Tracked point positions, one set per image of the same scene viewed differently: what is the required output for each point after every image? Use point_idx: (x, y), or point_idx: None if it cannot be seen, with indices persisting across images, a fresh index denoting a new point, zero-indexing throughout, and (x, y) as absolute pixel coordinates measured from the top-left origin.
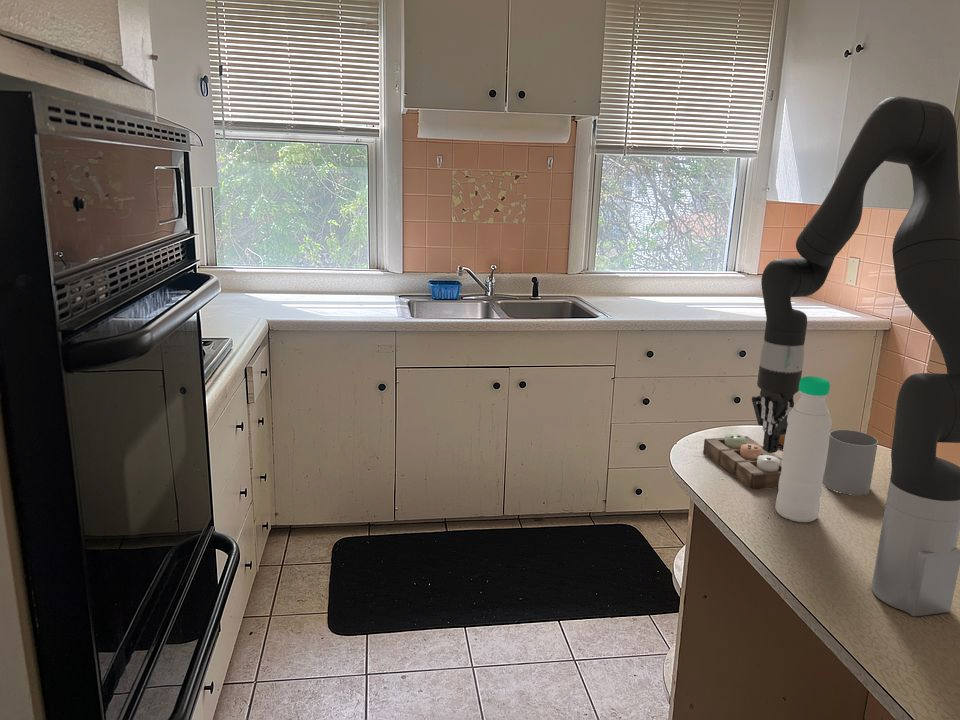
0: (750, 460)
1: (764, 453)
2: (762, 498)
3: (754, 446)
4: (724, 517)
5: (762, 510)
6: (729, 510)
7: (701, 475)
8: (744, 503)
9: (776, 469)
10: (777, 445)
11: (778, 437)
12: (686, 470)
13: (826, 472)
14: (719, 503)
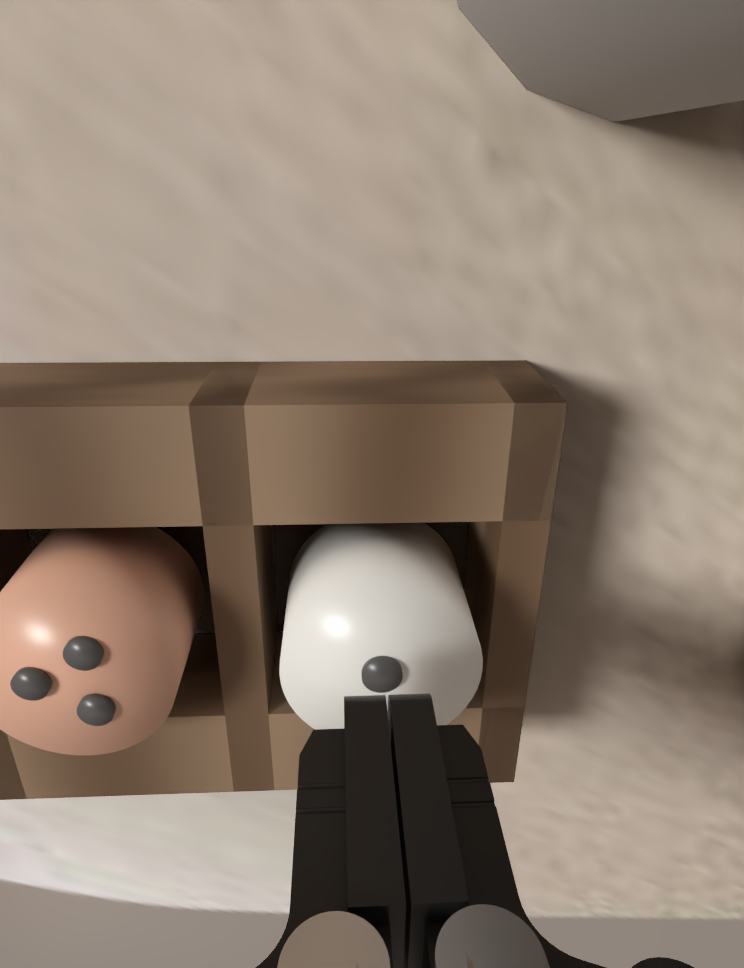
0: (235, 689)
1: (70, 501)
2: (606, 696)
3: (37, 640)
4: (707, 917)
5: (727, 759)
6: (659, 879)
7: (232, 848)
8: (622, 799)
9: (465, 598)
10: (488, 793)
11: (512, 902)
12: (153, 886)
13: (644, 98)
14: (578, 889)
